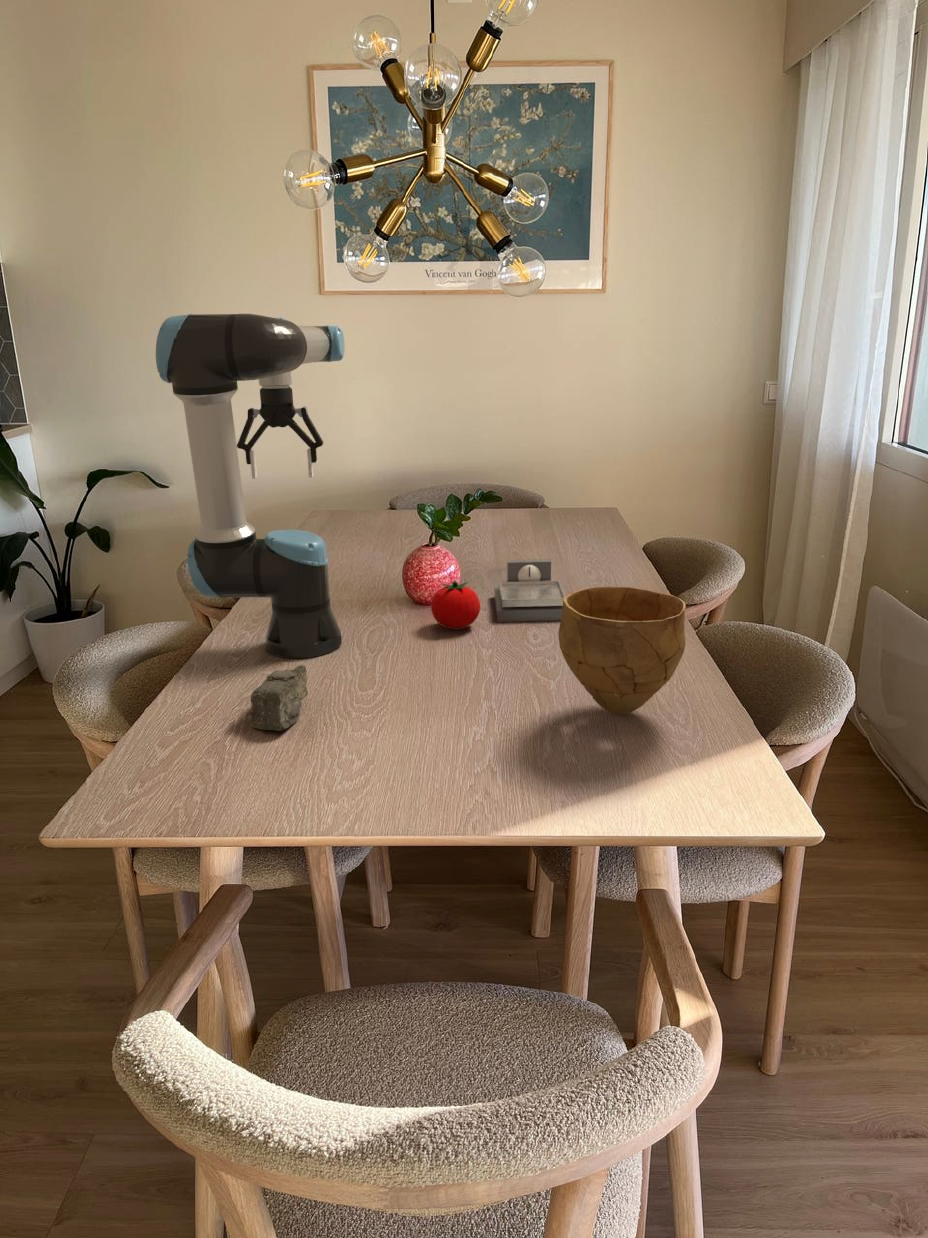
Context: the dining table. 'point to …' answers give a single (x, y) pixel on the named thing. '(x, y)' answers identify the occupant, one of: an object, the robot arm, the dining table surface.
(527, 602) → the pan
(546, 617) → the scale body
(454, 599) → the tomato
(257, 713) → the rock
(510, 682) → the dining table surface
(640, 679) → the bowl
